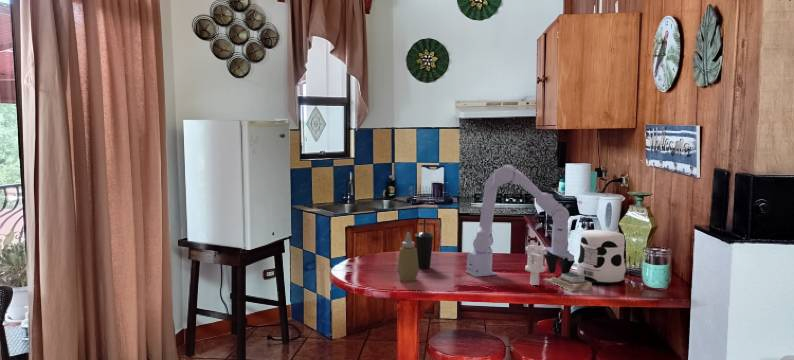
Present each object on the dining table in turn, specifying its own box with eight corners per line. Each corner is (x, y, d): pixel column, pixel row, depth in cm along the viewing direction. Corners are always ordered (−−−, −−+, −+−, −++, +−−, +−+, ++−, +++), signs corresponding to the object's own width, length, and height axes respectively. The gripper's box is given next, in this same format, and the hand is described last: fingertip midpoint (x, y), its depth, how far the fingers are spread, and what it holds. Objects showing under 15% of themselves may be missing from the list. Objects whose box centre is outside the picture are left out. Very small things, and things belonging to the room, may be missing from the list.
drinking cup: (411, 268, 226) (412, 219, 224) (418, 264, 233) (418, 216, 231) (429, 270, 223) (430, 221, 221) (435, 266, 230) (436, 218, 228)
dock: (571, 294, 197) (571, 285, 196) (541, 281, 212) (541, 272, 212) (591, 291, 200) (592, 282, 200) (560, 278, 216) (561, 270, 215)
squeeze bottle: (403, 283, 205) (404, 235, 203) (393, 278, 212) (393, 231, 210) (422, 281, 208) (423, 233, 206) (412, 275, 215) (412, 229, 214)
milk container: (620, 275, 218) (622, 230, 216) (629, 288, 201) (631, 239, 199) (574, 273, 221) (575, 228, 220) (578, 285, 205) (581, 237, 203)
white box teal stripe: (572, 287, 199) (573, 278, 198) (560, 282, 205) (560, 272, 205) (584, 286, 200) (584, 276, 200) (571, 280, 207) (571, 271, 206)
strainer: (520, 283, 207) (521, 243, 205) (534, 280, 210) (536, 241, 208) (533, 288, 201) (535, 247, 199) (548, 285, 204) (550, 245, 202)
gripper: (581, 242, 203) (579, 279, 205) (556, 235, 217) (554, 269, 218) (565, 244, 201) (564, 281, 202) (541, 236, 214) (539, 271, 215)
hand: (558, 275), depth 210 cm, fingers open, 7 cm apart
